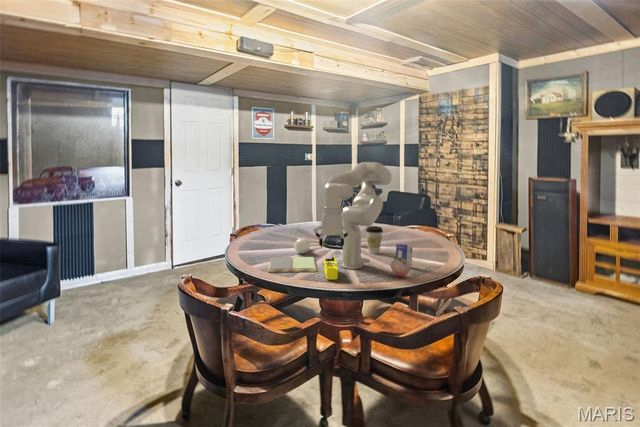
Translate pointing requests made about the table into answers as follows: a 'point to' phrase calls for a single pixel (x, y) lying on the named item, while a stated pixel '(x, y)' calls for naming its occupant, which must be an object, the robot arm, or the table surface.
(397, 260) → the decorative fruit
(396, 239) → the table surface
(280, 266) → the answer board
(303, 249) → the white ovoid
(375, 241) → the coffee cup
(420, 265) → the table surface
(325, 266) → the yellow toy chassis
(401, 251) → the blue and white carton
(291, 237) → the table surface
